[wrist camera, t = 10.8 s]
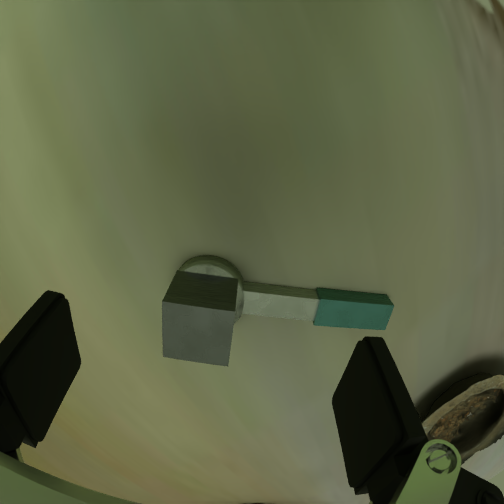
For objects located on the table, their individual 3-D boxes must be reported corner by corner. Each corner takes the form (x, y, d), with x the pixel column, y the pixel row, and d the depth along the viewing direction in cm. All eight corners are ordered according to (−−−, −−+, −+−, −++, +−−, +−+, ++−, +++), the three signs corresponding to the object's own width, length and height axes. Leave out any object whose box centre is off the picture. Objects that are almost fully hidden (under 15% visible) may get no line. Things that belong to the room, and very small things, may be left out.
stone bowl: (490, 418, 49) (504, 447, 40) (391, 449, 52) (399, 484, 44) (525, 334, 39) (549, 366, 31) (407, 371, 43) (423, 415, 35)
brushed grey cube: (177, 270, 32) (162, 301, 26) (238, 278, 32) (235, 311, 26) (175, 320, 34) (162, 356, 28) (231, 328, 35) (228, 366, 29)
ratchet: (175, 250, 34) (157, 281, 28) (392, 277, 36) (418, 310, 29) (173, 312, 37) (158, 351, 30) (372, 333, 38) (391, 370, 32)
